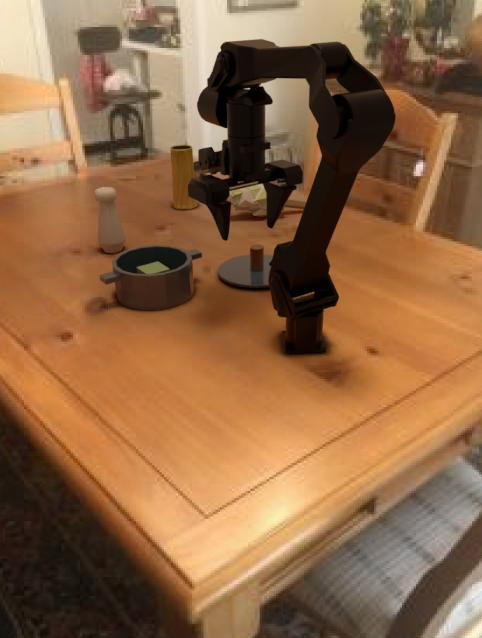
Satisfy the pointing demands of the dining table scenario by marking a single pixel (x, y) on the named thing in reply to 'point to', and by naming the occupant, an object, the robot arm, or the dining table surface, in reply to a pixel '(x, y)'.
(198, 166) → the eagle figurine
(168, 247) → the pot
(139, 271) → the block
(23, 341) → the dining table surface
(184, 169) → the vase
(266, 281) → the lid
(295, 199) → the decorative object
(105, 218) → the salt shaker
